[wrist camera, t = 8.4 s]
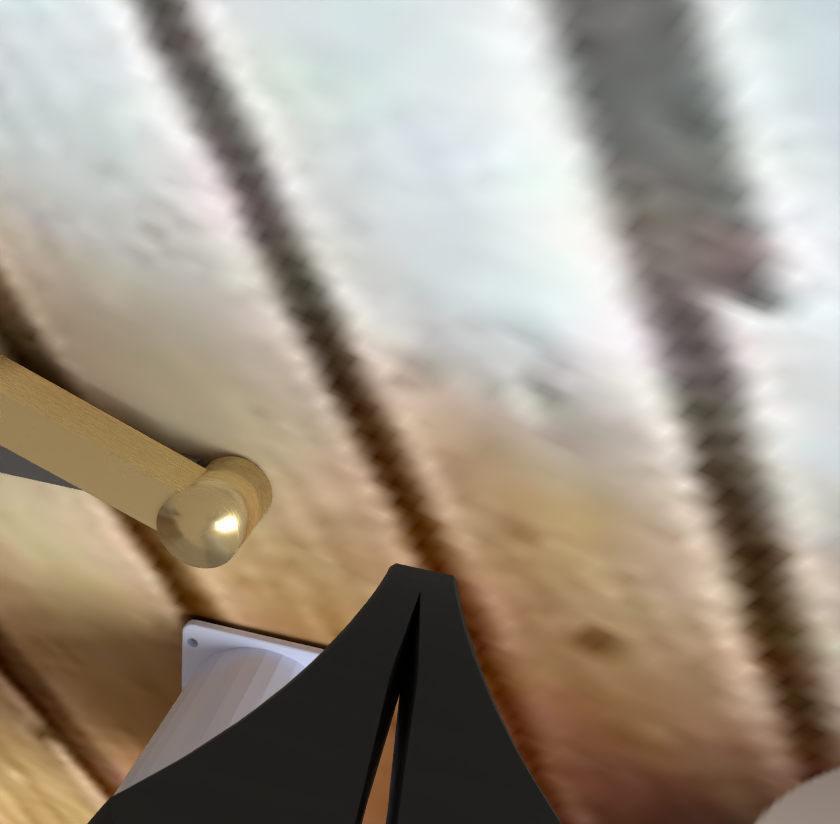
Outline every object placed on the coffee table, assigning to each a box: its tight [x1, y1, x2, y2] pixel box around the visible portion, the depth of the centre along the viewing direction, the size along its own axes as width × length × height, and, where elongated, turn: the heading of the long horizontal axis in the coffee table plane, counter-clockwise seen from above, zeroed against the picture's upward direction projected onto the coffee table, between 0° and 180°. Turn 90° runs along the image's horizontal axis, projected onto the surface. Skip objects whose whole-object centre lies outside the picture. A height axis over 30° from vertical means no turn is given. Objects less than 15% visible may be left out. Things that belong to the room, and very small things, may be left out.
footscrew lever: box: [0, 354, 272, 568], centre depth 20 cm, size 14×3×3 cm, turn 60°
